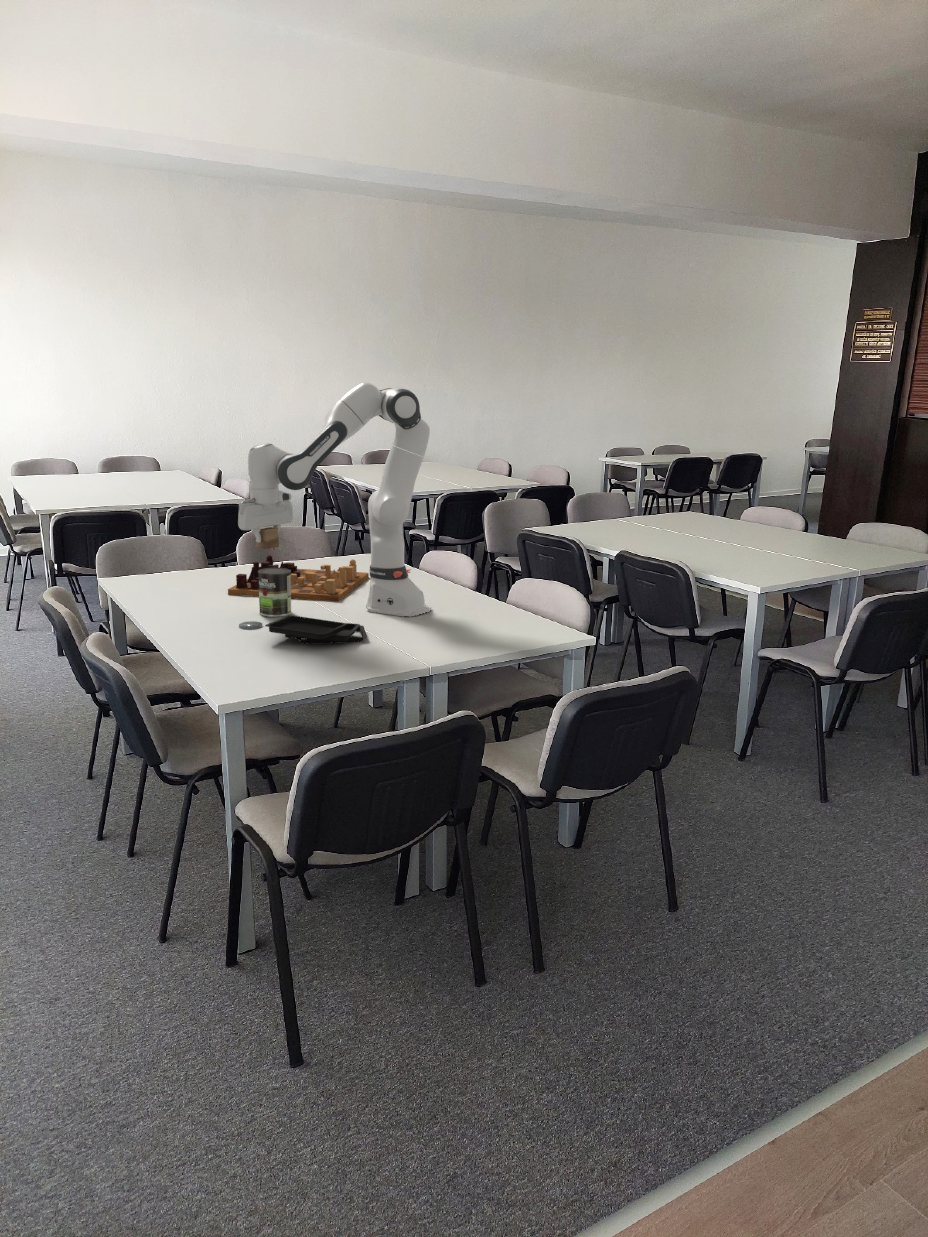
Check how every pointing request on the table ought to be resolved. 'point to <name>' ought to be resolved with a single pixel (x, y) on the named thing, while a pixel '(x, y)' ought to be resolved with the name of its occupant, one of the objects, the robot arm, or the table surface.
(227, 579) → the table surface
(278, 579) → the coffee can
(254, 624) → the slate coaster
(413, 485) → the robot arm
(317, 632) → the tray
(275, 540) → the walnut block
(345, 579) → the gameboard
